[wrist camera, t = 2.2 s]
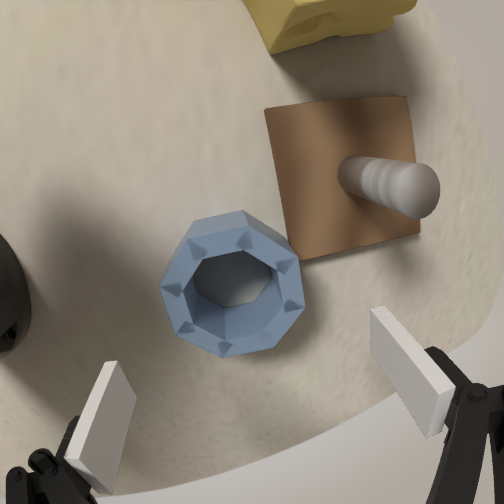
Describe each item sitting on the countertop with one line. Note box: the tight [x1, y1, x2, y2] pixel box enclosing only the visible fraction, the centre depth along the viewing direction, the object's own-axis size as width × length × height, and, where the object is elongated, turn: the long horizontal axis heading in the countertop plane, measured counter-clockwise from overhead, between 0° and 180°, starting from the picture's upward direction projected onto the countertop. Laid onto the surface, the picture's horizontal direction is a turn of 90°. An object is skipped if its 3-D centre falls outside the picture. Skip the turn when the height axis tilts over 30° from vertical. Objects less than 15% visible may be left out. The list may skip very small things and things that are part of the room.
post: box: [264, 96, 440, 261], centre depth 20 cm, size 12×12×10 cm
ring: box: [159, 210, 305, 358], centre depth 24 cm, size 9×9×5 cm
